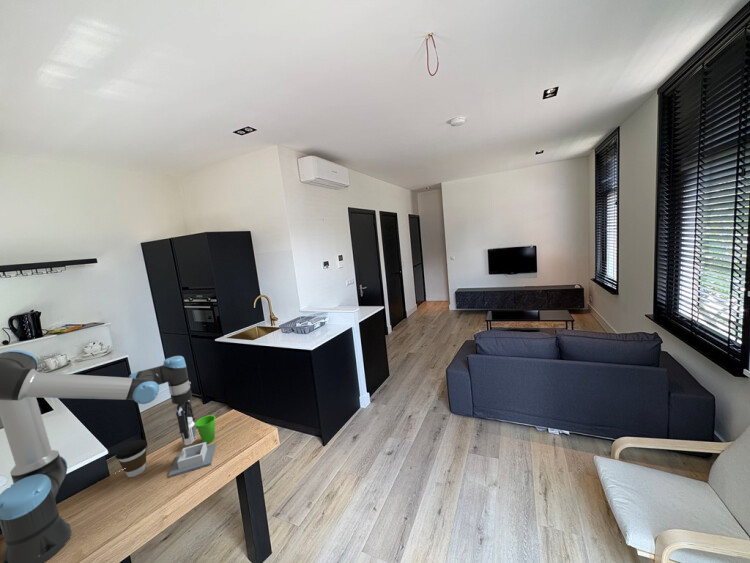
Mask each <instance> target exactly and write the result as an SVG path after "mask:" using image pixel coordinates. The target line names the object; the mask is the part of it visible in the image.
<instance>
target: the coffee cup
mask: <svg viewBox="0 0 750 563" xmlns="http://www.w3.org/2000/svg"><path fill="white" fill-rule="evenodd" d="M147 447H148V442H147V441H146V440H144V439H136V440H133V441H129V442H128V443H126V444H124V445H122V446H121V447H119V449H118V450H117V451H116V453H115V456H114V457H115V459H117V460H118V462H119V464H120V466H121V469H122V470H123V469H124V468H126V469H124V470H123V472H125V475H126V477H128V478H135V477H137V476H139V475H140V474H142V473H143V472H145V470H146V468H147Z"/></svg>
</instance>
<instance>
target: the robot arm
mask: <svg viewBox="0 0 750 563" xmlns="http://www.w3.org/2000/svg"><path fill="white" fill-rule="evenodd" d="M38 366H39V362H38V358H37V357H36V356H35V355H34V354H32V353H31V352H28V351H25V350H19V349H13V350H5V351H3V352H1V353H0V420H1V423H2V426H3V430H4V432H5V436H6V439H7V442H8V443H7V444H8V445H9V446H8V447H9V449H10V452H11V456H12V459H13V461H14V466H13V468H12V469H11V470H10V473H9V474H10V476H11V480H12V483H13V484H11V485H10V486H9V487H7V488H6V489H3V491H2V492H1V493H0V529H1V532H2V535H3V539H4V542H5V550H4V555H3V558H2V563H46V562H47V561H48V560H50V559H51V558H52V557H54V556H55V555H56V554H57V553H59V552H60V551H61V550H62V549H63V548H64V547H65V546H66V545H65V543H66V542H67V541H68V540H69V541H70V539H71V538H70V536H71V537H72V535H71V533H72V534H73V530H72V528H71V525H70V524H69V523H68V522H67V521H66V520H65V519H64V518H62V517H61V516H60V514H59V510H58V506H57V502H56V497H57V494H58V493H59V490H60V488H61V486H62V483H63V482H64V479H65V478H66V476H67V471H68V463H67V460H66V459H65V458H64V457H62V456H61V455H60V452H59V450H55V449H52V447H51V444H50V441H49V437H48V433H47V430H46V426H45V424H44V420H43V417H42V416H43V415H42V413H41V409H40V407H39V402H38V400H37V398H44V399H45V398H46V399H47V398H48V399H50V398H52V399H88V400H89V399H90V400H92V399H93V400H94V399H95V400H129V401H130V400H131V401H134V402H135V403H137V404H140V405H147V404H149V403H151V402H153V401H154V400H155V399H156V398H158V395H159V391H160V385H164V384H165V383H167V384H168V385H167V386H168V391H169V395H170V399H171V403H172V404H173V405H177V407H176V410H177V411H176V412H175V415H176V417H177V423H178V427H179V434H181V433H183V438H184V443H185V444H184V443H183V444H184V446H188V445H189V446H190V445H192V444H193V442H192V437H191V433H190V429H189V426H188V417H192V420H193V421H196V418H195V415H194V411H193V408H192V407H193V406H192V402H191V398H192V397H193V394H192V390H191V384H192V383H191V381H189V375H188V374H189V373H188V369H187V364H186V360H185V357H184V356H182V355H174V356H171V357H167V358H165V359H164V360H163V364H162V365H159V366H156V367H152V368H147V369H144V370H139V371H136V372H132V373H131V374H130V375H129V376H128V377H121V376H104V375H89V374H87V375H86V374H85V375H84V374H70V373H53V372H52V373H51V372H38V371H37V370H38V368H39V367H38ZM69 538H70V539H69ZM69 541H68V542H69ZM68 542H67V543H68ZM67 543H66V544H67ZM64 545H65V546H64ZM63 546H64V547H63ZM62 547H63V548H62ZM61 548H62V549H61ZM60 549H61V550H60ZM59 550H60V551H59ZM58 551H59V552H58ZM56 552H57V553H56ZM54 554H55V555H54ZM53 555H54V556H53Z"/></svg>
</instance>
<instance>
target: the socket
mask: <svg viewBox="0 0 750 563" xmlns="http://www.w3.org/2000/svg"><path fill="white" fill-rule="evenodd" d="M216 447H217V443H213V444H210V445H207V444H206V442H204V443H203V442H200V443H197V444H193V445H189V446H185V447H183V448H182V450H181V452H180V453H178V454H176V457H175V459H174V462H173V463H172V466H171V469H170V471H169V474H168V478H172V477H176V476H179V475H183V474H185V473H189V472H192V471H196V470H200V469H202V468H206V467H209V466H212V463H213V458H214V454H215V451H216Z"/></svg>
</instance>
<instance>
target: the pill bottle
mask: <svg viewBox="0 0 750 563" xmlns="http://www.w3.org/2000/svg"><path fill="white" fill-rule="evenodd" d="M188 426H189V429H190V433H191V437H192V442H195V441H196V440H197V439H198V433H197V432H198V431H197V427H196V426H195V422H194V420H192V417H188ZM180 436H181V440H182V443H183V444H184V445H185V443H184V438H183V433H180Z"/></svg>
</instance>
